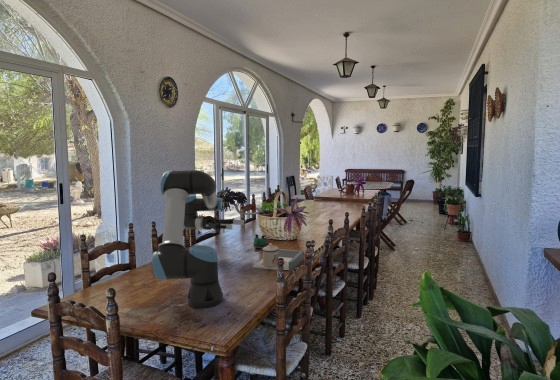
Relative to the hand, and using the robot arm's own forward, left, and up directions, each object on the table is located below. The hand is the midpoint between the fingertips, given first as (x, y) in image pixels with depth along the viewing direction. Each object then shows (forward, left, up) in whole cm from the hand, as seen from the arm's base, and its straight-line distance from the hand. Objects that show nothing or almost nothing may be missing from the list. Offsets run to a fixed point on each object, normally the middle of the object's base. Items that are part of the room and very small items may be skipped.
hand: (237, 224), depth 210 cm
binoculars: (+30, -1, -23) cm, 37 cm away
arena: (+8, -21, -22) cm, 32 cm away
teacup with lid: (+3, -19, -22) cm, 29 cm away
